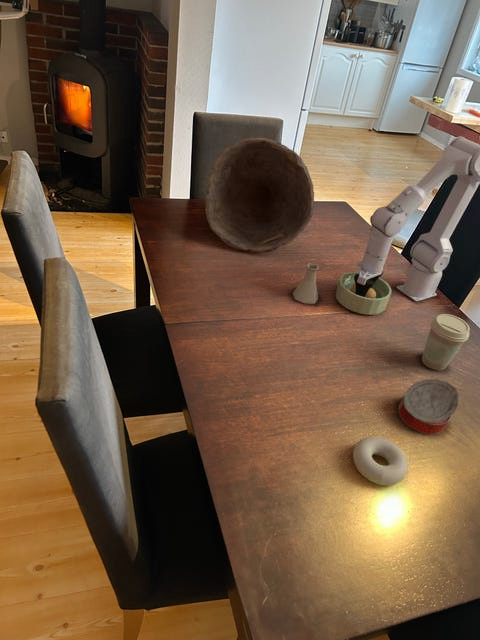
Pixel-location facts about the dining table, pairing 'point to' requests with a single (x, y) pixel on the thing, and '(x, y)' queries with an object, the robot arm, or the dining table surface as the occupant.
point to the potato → (370, 293)
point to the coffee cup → (444, 340)
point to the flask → (308, 286)
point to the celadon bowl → (359, 302)
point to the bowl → (259, 195)
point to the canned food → (428, 405)
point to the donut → (376, 471)
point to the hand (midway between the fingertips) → (362, 295)
